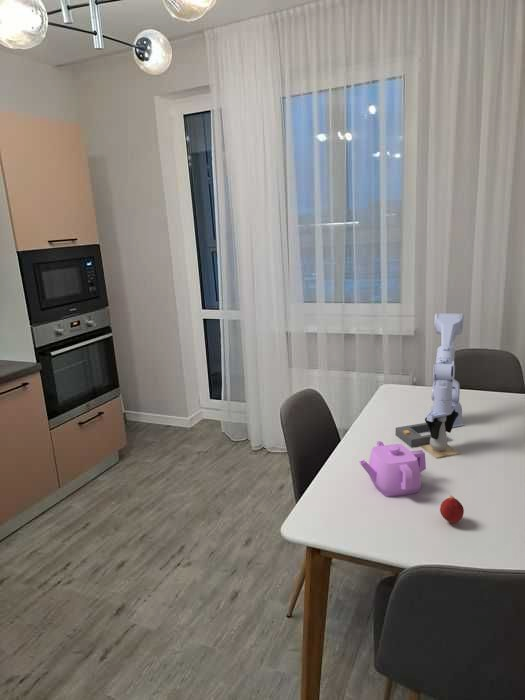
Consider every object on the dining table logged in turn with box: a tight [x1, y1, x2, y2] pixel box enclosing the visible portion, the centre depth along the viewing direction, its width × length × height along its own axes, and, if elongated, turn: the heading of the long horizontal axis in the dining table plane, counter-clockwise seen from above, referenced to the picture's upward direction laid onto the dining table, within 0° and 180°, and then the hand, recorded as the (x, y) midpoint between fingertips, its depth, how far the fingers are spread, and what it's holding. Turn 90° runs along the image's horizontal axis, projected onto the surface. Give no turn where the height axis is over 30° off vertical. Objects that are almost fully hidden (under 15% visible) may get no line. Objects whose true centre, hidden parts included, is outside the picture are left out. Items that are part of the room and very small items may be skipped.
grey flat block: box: [395, 422, 447, 448], centre depth 179 cm, size 14×11×4 cm
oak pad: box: [421, 443, 461, 459], centre depth 169 cm, size 9×9×1 cm
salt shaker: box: [429, 416, 448, 452], centre depth 168 cm, size 6×6×13 cm
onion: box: [439, 494, 465, 524], centre depth 129 cm, size 6×6×8 cm
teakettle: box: [359, 440, 427, 498], centre depth 149 cm, size 17×17×12 cm
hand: (441, 435), depth 168 cm, fingers open, 7 cm apart
